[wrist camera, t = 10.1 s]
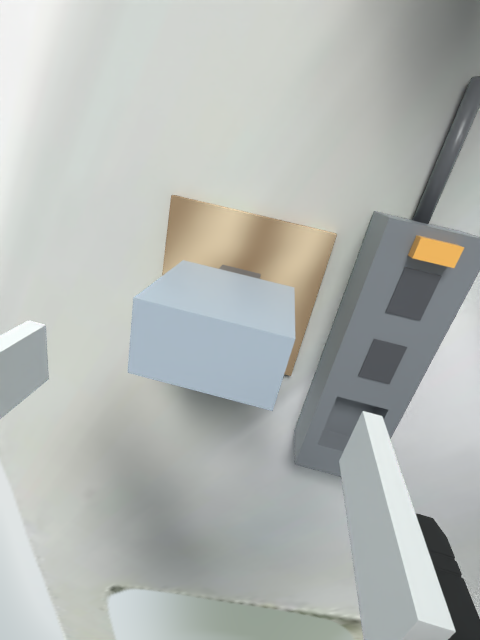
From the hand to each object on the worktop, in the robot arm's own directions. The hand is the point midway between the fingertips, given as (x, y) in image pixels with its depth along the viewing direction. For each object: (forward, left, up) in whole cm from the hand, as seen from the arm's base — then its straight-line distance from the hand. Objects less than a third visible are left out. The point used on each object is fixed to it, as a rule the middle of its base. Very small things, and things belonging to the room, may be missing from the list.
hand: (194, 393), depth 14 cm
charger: (0, 0, -13) cm, 13 cm away
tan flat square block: (0, 0, -14) cm, 14 cm away
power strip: (-11, -2, -14) cm, 18 cm away
